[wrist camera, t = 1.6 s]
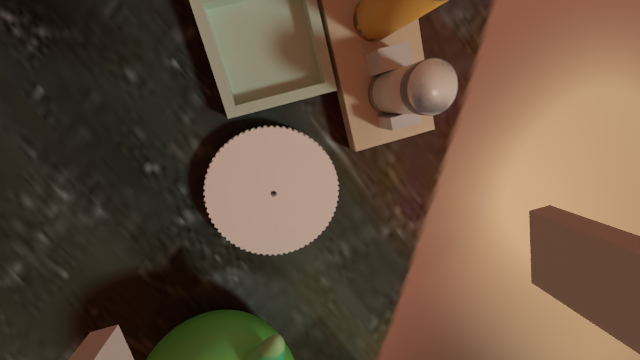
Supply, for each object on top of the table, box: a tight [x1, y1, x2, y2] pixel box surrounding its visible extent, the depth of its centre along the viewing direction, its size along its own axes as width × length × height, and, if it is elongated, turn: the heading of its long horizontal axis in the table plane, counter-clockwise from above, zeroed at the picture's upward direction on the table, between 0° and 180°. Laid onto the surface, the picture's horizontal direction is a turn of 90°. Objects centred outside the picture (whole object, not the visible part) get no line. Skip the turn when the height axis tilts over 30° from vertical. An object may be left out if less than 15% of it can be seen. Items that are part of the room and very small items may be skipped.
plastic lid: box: [203, 125, 339, 255], centre depth 33 cm, size 14×14×2 cm
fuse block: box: [317, 0, 458, 151], centre depth 26 cm, size 24×9×12 cm, turn 14°
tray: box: [189, 0, 337, 119], centre depth 30 cm, size 11×11×2 cm
